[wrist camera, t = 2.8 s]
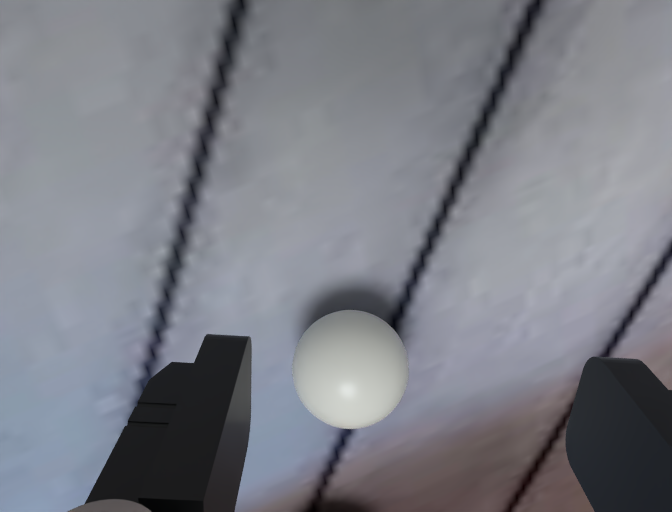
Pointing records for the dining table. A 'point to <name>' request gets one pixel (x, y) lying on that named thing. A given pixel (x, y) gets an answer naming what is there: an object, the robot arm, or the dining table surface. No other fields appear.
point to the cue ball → (350, 369)
